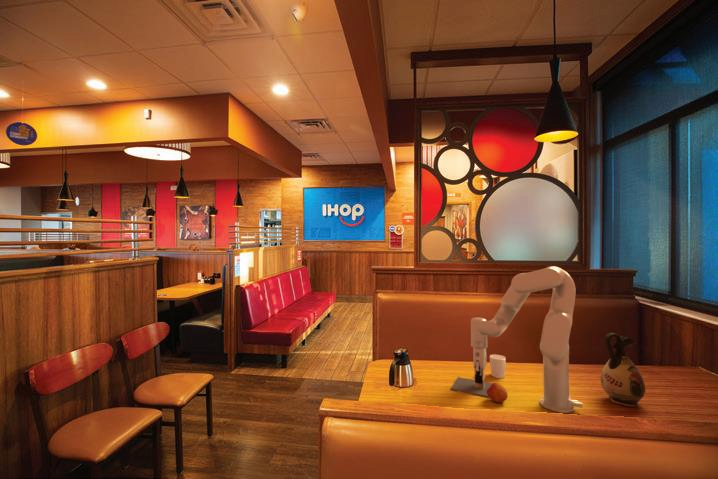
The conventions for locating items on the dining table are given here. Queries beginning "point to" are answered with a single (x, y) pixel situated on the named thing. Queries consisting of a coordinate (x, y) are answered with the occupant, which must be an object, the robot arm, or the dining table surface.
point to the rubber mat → (470, 387)
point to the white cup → (497, 366)
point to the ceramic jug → (621, 374)
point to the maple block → (482, 380)
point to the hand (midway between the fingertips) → (479, 380)
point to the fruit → (497, 393)
